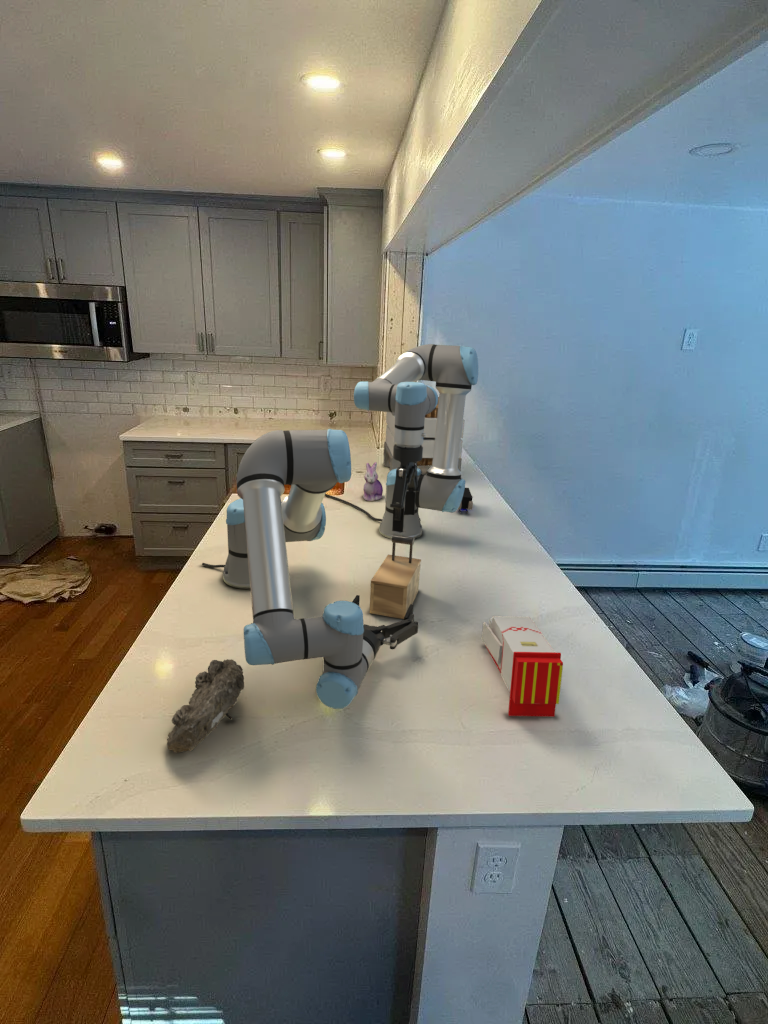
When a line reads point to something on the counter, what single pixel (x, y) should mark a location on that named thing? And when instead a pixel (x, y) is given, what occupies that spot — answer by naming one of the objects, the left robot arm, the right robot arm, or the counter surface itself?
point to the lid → (397, 566)
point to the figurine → (372, 484)
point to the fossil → (206, 705)
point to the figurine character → (466, 501)
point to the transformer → (427, 444)
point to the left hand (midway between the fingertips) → (384, 604)
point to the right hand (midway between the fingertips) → (403, 522)
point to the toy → (525, 665)
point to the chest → (393, 598)
